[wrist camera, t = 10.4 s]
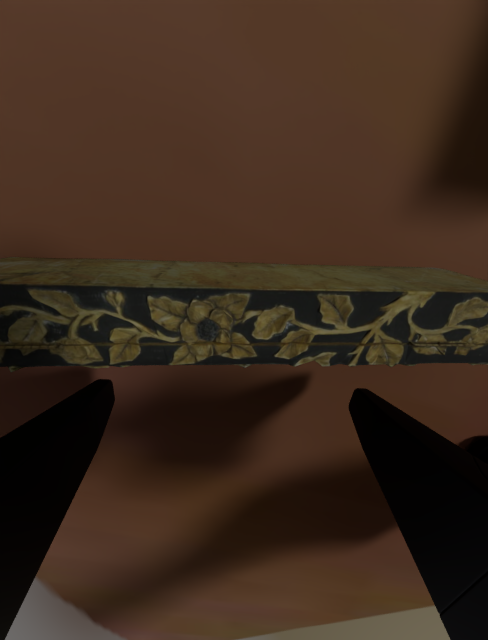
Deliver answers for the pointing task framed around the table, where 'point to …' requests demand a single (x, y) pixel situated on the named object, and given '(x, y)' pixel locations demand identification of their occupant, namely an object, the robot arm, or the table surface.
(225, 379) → the table surface
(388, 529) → the table surface
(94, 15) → the table surface
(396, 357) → the decorative block
